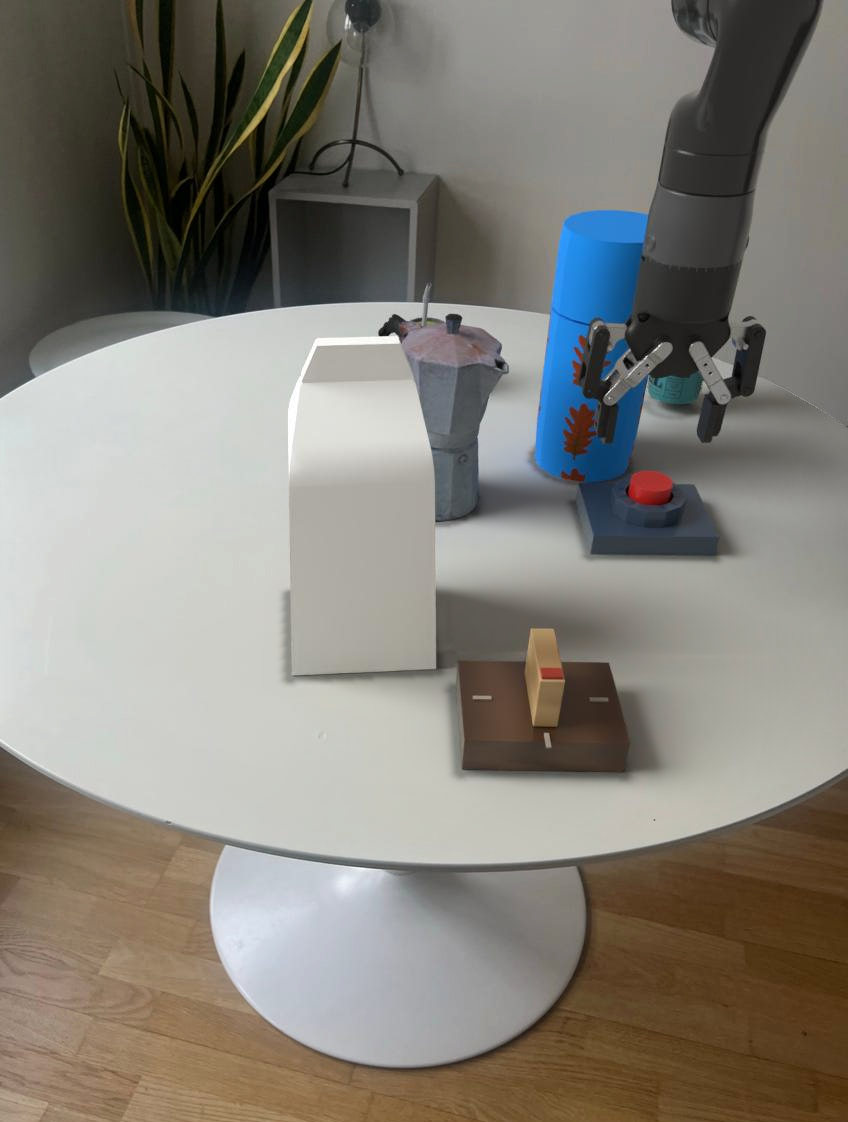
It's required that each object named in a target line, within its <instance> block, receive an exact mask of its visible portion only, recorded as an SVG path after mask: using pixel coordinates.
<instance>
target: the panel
mask: <svg viewBox="0 0 848 1122" xmlns="http://www.w3.org/2000/svg"><path fill="white" fill-rule="evenodd" d="M561 664H562V669H563V674H564V678H565V685H564V691H563V697H562V702H561V708H560V714H559V719H558V725H557V727H541V726H533V723H532V717H531V710H530V704H529V698H528V691H527V685H526V679H525V666H526V660H472V659H471V660H470V659H466V660H465V659H464V660H462V659H458V660H457V664H456V665H457V667H456V679H455V698H456V710H457V712H456V713H457V724H458V725H457V726H458V737H459V750H460V751H459V753H460V764H461V765H460V766H461V770H481V771H482V770H486V771H542V772H543V771H544V772H545V771H551V772H610V773H611V772H613V773H614V772H615V773H616V772H617V773H624V772H625V768H626V764H627V761H628V756H629V752H630V749H631V745H632V743H631V742H632V741H631V738H630V735H629V732H628V727H627V724H626V719H625V716H624V712H623V709H622V706H621V700H620V697H619V694H618V690H617V687H616V686H617V685H616V682H615V679H614V675H613V672H612V668H611V664H610V662H607V661H604V662H602V661H601V662H599V661H561Z"/></svg>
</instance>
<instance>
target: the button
mask: <svg viewBox="0 0 848 1122" xmlns="http://www.w3.org/2000/svg"><path fill="white" fill-rule="evenodd" d="M631 476H632V477H631V481H630V486H629V491H628V496H629V497H630V498H631V499H633V500H634V501H635V502H638V503H642V504H645V505H663V504H666V503H668V502H669V500H670V495H671V491H672V487H673V483H674V481H673V479H672V478H671V477H670V476H668V475H667V474H664V473H662V472H659V471H654V470H641V471H636V472H635V473H633V474H632V475H631Z"/></svg>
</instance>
